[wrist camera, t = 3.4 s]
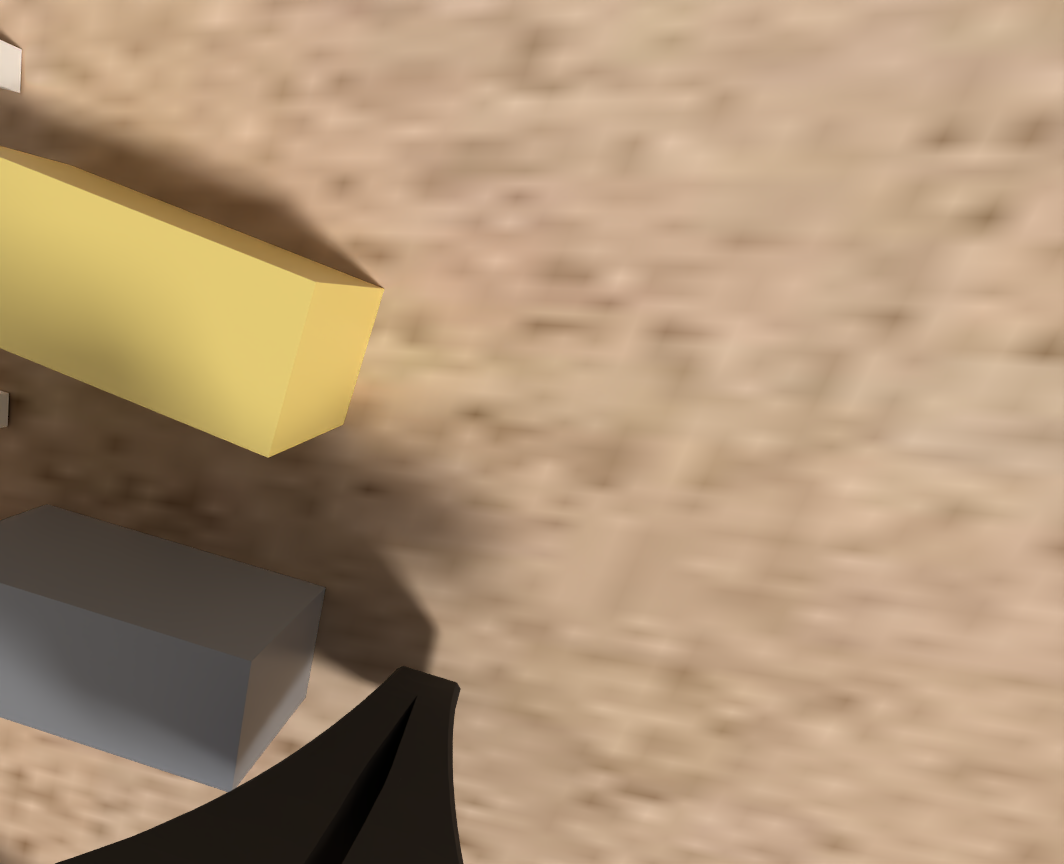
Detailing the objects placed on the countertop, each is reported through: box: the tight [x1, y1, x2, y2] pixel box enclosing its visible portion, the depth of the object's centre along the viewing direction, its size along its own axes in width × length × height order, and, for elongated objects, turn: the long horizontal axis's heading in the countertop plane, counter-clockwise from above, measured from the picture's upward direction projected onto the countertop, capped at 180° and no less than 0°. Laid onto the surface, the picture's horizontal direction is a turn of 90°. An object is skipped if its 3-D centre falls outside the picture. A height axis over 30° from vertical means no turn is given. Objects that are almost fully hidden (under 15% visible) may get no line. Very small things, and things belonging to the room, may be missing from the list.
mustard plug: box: [0, 146, 384, 458], centre depth 11 cm, size 3×8×3 cm, turn 69°
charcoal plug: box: [0, 504, 326, 792], centre depth 12 cm, size 3×8×3 cm, turn 76°
